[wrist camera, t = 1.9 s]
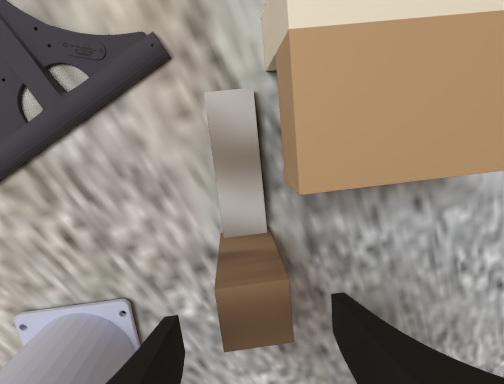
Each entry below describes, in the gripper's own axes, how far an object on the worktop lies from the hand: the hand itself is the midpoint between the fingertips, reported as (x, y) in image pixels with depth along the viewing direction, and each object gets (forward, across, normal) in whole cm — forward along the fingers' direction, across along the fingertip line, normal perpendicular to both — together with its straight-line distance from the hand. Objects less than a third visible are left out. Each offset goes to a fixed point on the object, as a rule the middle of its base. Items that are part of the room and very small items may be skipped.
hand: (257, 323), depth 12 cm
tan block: (+8, -7, -10) cm, 15 cm away
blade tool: (+8, 0, -5) cm, 9 cm away
